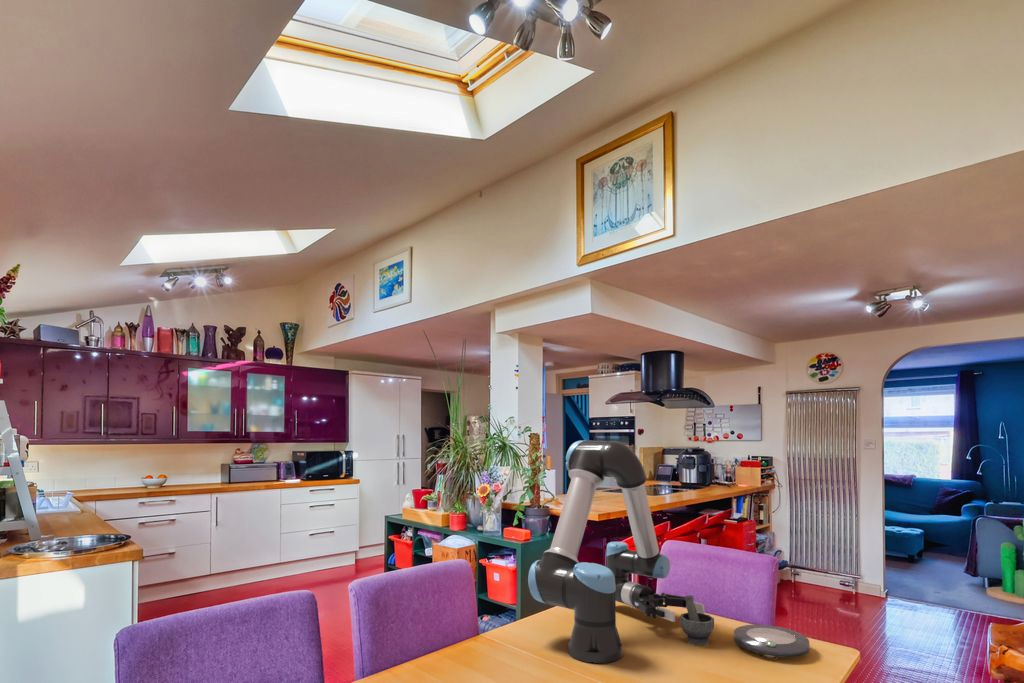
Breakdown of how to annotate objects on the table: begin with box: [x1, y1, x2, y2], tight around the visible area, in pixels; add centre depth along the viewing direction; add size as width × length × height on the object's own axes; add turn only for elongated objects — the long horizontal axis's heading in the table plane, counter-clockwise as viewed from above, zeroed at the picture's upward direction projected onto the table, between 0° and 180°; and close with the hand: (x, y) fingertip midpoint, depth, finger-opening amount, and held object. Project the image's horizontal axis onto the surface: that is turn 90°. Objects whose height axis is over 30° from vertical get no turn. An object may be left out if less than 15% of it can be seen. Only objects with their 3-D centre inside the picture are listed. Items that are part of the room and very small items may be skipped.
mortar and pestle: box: [679, 594, 715, 647], centre depth 180 cm, size 11×9×12 cm
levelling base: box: [733, 624, 811, 660], centre depth 174 cm, size 20×20×4 cm
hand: (689, 613), depth 183 cm, fingers open, 13 cm apart
